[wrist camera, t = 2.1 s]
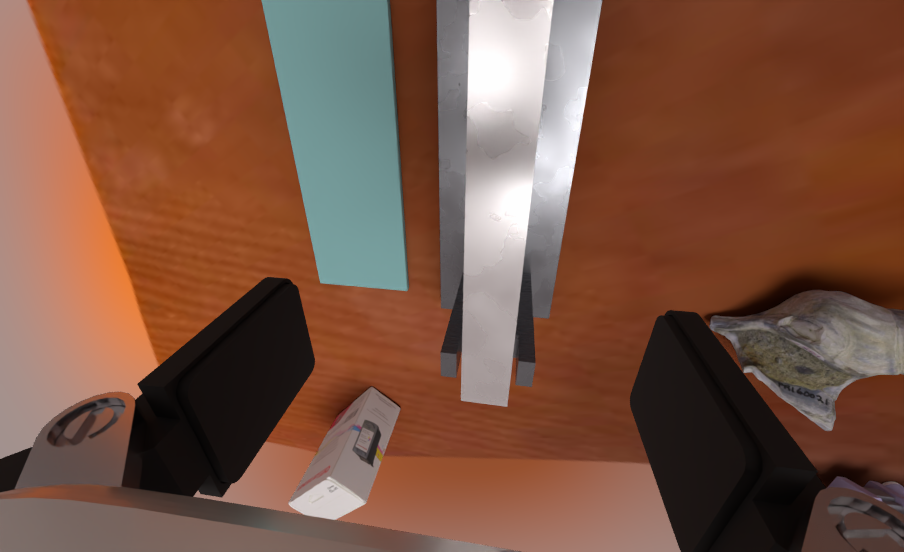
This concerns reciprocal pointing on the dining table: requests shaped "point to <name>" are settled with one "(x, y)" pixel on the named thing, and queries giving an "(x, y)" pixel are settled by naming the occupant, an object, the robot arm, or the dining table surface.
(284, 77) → the mat
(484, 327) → the rail
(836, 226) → the dining table surface
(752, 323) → the seashell
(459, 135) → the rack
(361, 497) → the ink box
